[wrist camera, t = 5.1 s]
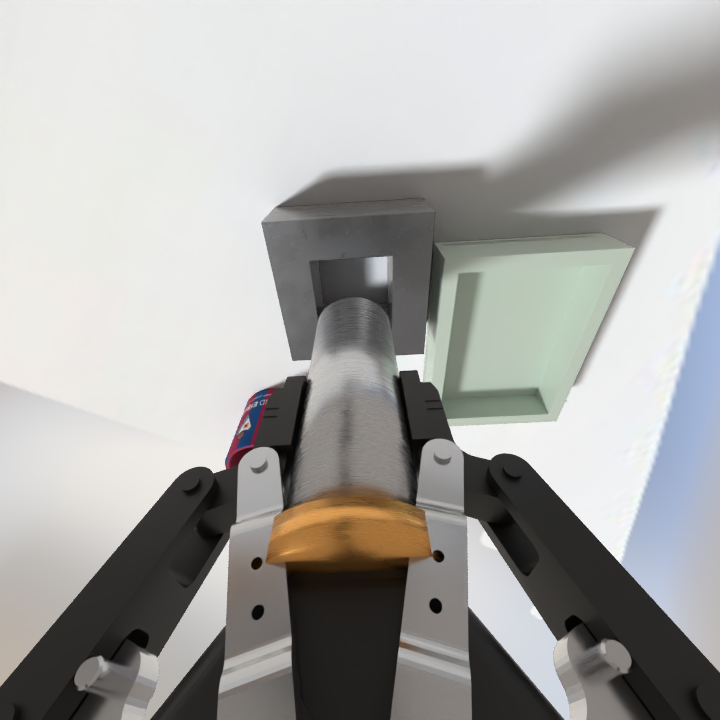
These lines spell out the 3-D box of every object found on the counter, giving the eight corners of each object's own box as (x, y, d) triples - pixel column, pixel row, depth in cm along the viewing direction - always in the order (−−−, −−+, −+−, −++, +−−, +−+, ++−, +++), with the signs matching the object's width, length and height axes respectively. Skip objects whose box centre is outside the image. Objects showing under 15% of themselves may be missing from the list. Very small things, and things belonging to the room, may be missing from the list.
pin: (300, 290, 16) (222, 548, 6) (400, 285, 16) (469, 538, 6) (314, 368, 19) (275, 620, 10) (398, 363, 19) (443, 614, 9)
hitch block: (275, 207, 22) (261, 222, 18) (423, 198, 21) (435, 211, 18) (299, 332, 28) (292, 360, 24) (415, 326, 27) (423, 353, 24)
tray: (434, 242, 23) (444, 259, 20) (602, 232, 23) (635, 247, 20) (421, 401, 33) (427, 427, 30) (539, 396, 32) (556, 421, 30)
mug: (283, 378, 31) (267, 433, 25) (341, 435, 36) (338, 492, 30) (232, 405, 33) (208, 461, 27) (294, 456, 38) (284, 512, 32)
